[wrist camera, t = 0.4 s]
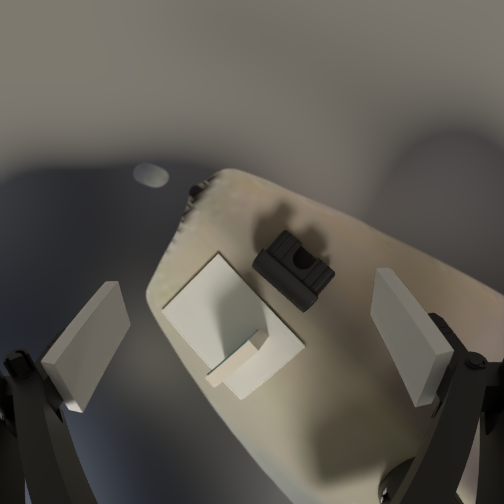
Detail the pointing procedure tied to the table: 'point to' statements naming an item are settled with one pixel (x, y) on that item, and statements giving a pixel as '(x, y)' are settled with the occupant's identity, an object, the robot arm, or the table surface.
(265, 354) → the mat
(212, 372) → the tile
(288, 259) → the end cap
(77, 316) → the robot arm
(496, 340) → the table surface
